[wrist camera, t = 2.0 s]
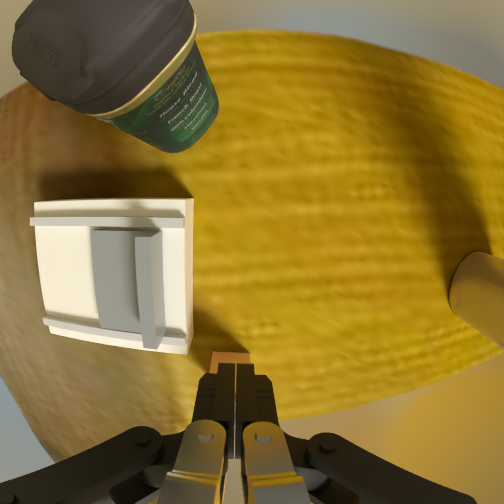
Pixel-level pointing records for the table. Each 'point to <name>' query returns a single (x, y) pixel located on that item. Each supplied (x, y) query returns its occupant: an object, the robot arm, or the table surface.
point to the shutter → (130, 282)
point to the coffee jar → (121, 65)
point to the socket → (81, 270)
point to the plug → (228, 358)
